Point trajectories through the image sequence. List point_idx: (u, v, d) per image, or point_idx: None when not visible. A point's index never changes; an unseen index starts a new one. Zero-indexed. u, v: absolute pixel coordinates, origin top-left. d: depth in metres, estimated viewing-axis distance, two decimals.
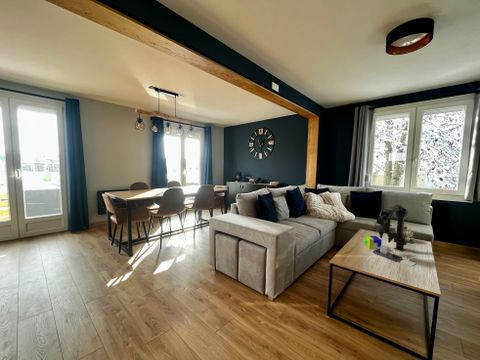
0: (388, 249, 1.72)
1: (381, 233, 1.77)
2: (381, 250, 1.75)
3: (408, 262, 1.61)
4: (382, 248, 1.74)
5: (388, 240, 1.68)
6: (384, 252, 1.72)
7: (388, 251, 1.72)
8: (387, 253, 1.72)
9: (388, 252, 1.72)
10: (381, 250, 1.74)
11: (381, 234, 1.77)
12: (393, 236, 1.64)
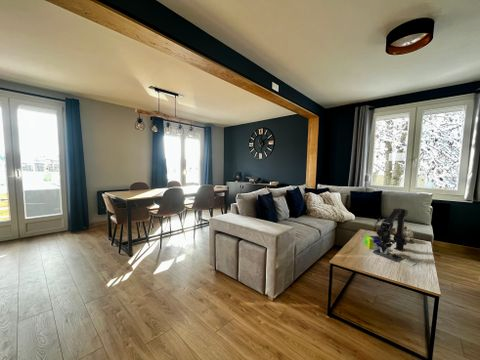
0: (388, 249, 1.72)
1: None
2: (381, 250, 1.75)
3: (408, 262, 1.61)
4: None
5: (382, 249, 1.74)
6: (384, 252, 1.72)
7: (388, 251, 1.72)
8: (387, 253, 1.72)
9: (388, 252, 1.72)
10: (381, 250, 1.74)
11: None
12: (382, 245, 1.71)
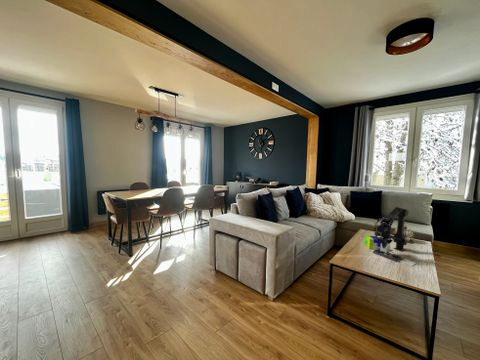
0: (388, 245, 1.72)
1: (387, 242, 1.75)
2: (381, 246, 1.74)
3: (408, 262, 1.61)
4: None
5: None
6: (385, 248, 1.72)
7: (388, 247, 1.72)
8: (387, 249, 1.71)
9: (388, 248, 1.72)
10: None
11: None
12: (382, 241, 1.70)
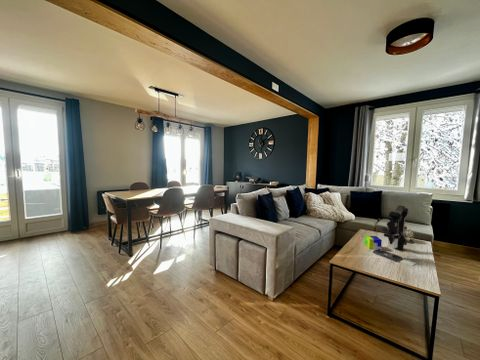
0: (396, 241, 1.67)
1: None
2: (388, 242, 1.70)
3: (408, 262, 1.61)
4: None
5: (389, 241, 1.69)
6: (392, 244, 1.67)
7: (396, 243, 1.68)
8: (395, 245, 1.67)
9: (395, 244, 1.67)
10: (389, 242, 1.70)
11: None
12: None
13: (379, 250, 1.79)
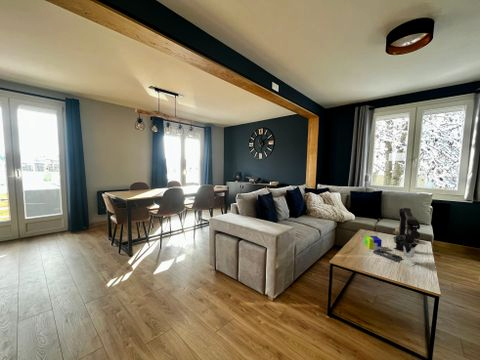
0: (413, 250, 1.59)
1: (411, 246, 1.62)
2: (405, 251, 1.61)
3: (408, 262, 1.61)
4: None
5: (406, 250, 1.60)
6: (409, 253, 1.59)
7: (413, 252, 1.59)
8: (412, 254, 1.59)
9: (412, 253, 1.59)
10: (405, 251, 1.61)
11: (411, 247, 1.62)
12: None
13: (379, 250, 1.79)
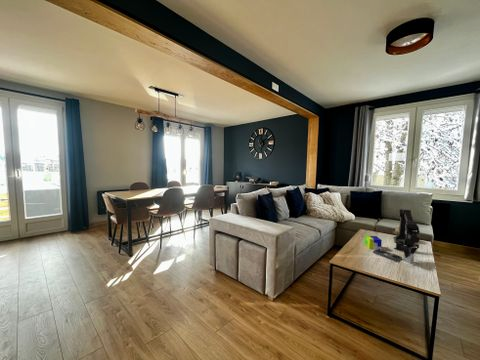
0: (412, 256, 1.59)
1: (411, 250, 1.63)
2: (404, 257, 1.62)
3: None
4: None
5: (405, 255, 1.60)
6: (408, 259, 1.59)
7: (412, 258, 1.60)
8: (411, 260, 1.59)
9: (412, 259, 1.59)
10: None
11: (411, 251, 1.63)
12: (405, 250, 1.57)
13: (379, 250, 1.79)
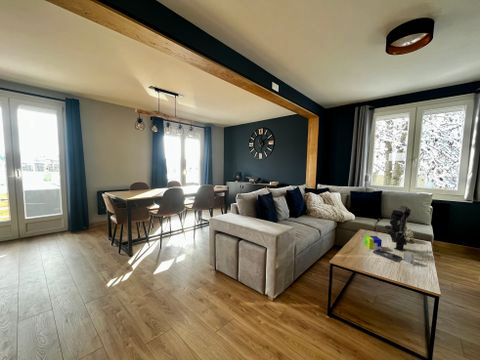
0: (412, 256, 1.59)
1: (399, 235, 1.78)
2: (404, 257, 1.62)
3: None
4: (406, 254, 1.61)
5: (392, 239, 1.74)
6: (408, 259, 1.59)
7: (412, 258, 1.60)
8: (411, 260, 1.59)
9: (412, 259, 1.59)
10: (405, 257, 1.61)
11: (398, 236, 1.78)
12: (392, 235, 1.71)
13: (379, 250, 1.79)
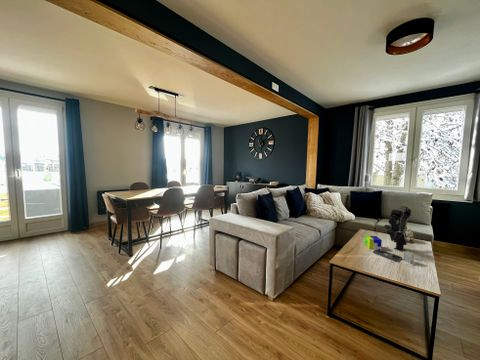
0: (412, 256, 1.59)
1: (398, 234, 1.78)
2: (404, 257, 1.62)
3: None
4: (406, 254, 1.61)
5: (391, 238, 1.75)
6: (408, 259, 1.59)
7: (412, 258, 1.60)
8: (411, 260, 1.59)
9: (412, 259, 1.59)
10: (405, 257, 1.61)
11: (398, 235, 1.78)
12: (391, 234, 1.72)
13: (379, 250, 1.79)
